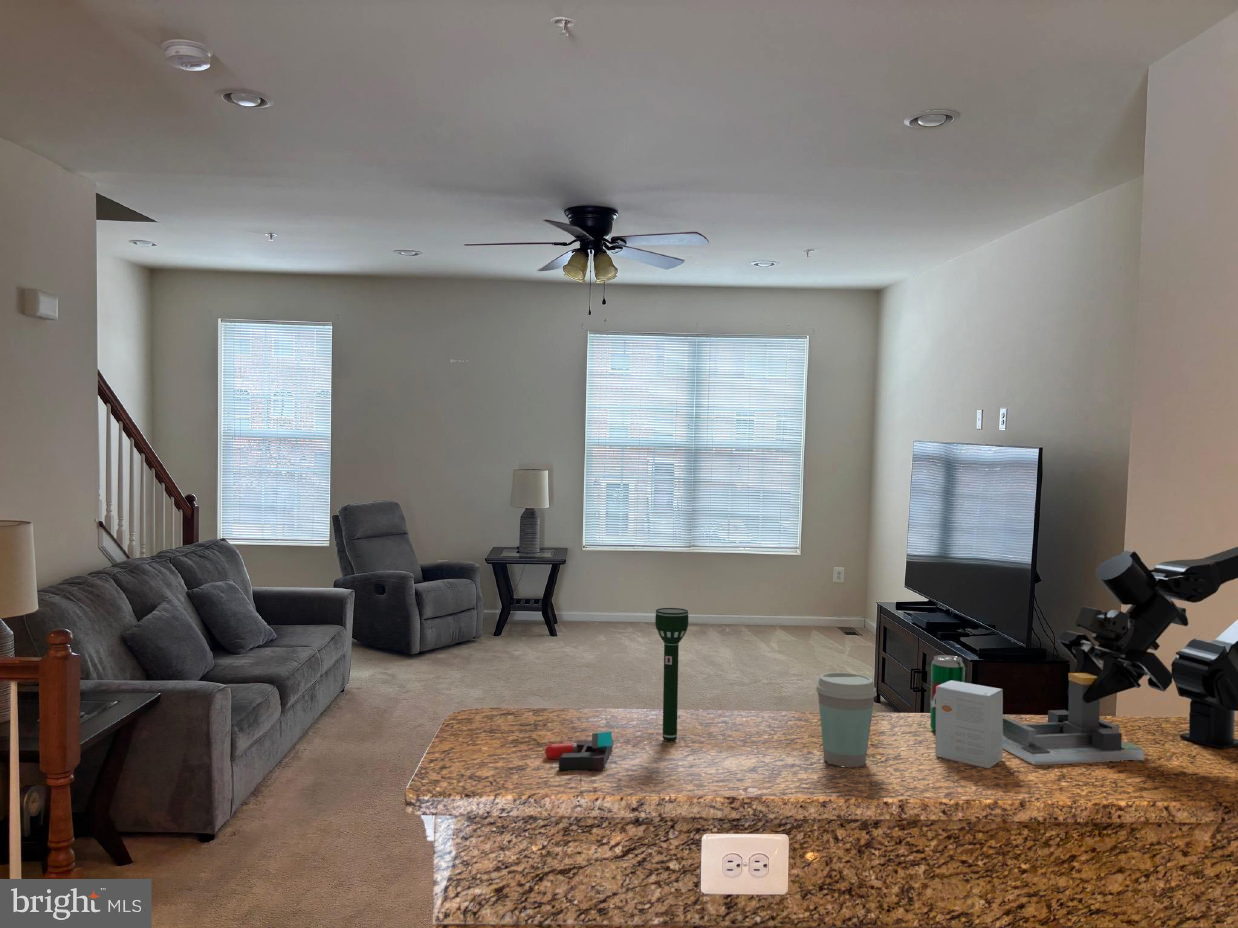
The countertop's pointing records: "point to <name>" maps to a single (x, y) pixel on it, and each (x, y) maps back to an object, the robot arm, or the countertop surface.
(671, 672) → the flashlight
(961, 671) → the soda can
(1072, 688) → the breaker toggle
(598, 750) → the toy gun
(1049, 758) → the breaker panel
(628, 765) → the countertop surface
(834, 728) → the coffee cup
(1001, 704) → the small box
